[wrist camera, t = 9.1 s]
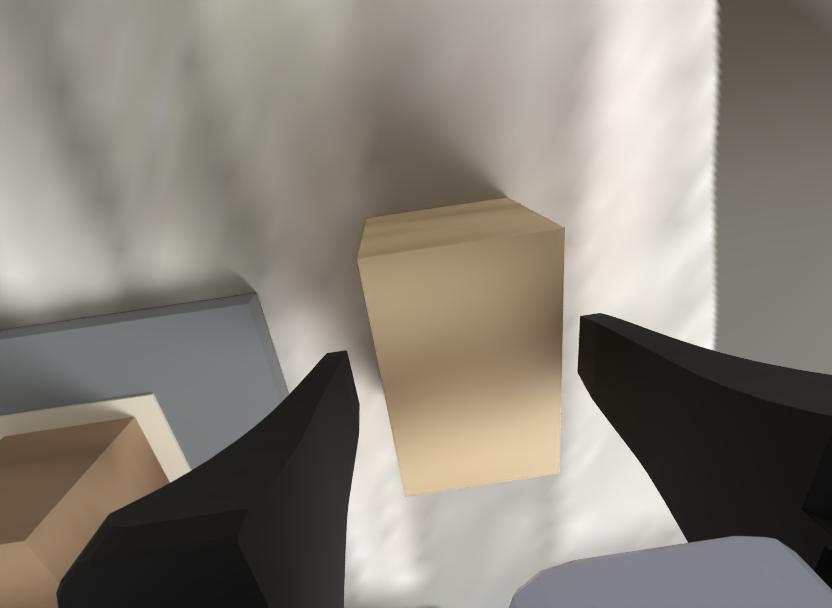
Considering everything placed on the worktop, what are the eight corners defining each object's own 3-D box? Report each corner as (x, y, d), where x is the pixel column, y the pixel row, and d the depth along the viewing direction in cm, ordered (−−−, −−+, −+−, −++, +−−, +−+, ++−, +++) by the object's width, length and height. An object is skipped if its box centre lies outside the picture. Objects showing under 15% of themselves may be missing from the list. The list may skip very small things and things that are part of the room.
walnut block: (207, 552, 18) (146, 692, 14) (100, 568, 18) (4, 714, 14) (134, 416, 15) (24, 540, 10) (4, 436, 15) (-164, 569, 10)
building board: (344, 567, 21) (342, 588, 20) (45, 612, 21) (28, 636, 20) (256, 292, 15) (246, 304, 14) (-177, 356, 14) (-220, 373, 13)
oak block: (513, 382, 17) (559, 473, 13) (400, 399, 17) (405, 497, 13) (506, 196, 14) (564, 228, 9) (366, 217, 14) (356, 258, 9)
